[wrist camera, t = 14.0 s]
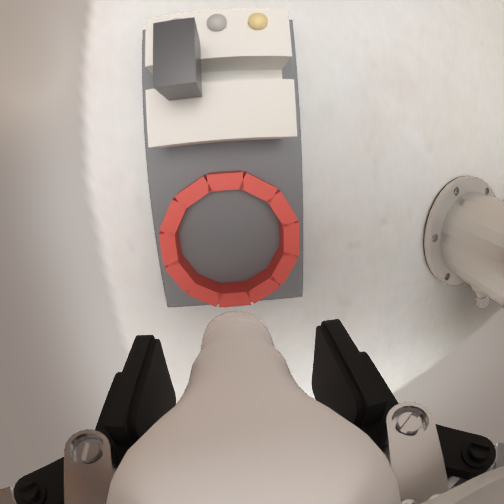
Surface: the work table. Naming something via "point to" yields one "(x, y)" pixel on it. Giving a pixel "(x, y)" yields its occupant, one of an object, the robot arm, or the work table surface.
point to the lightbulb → (250, 436)
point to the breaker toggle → (177, 59)
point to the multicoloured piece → (228, 163)
